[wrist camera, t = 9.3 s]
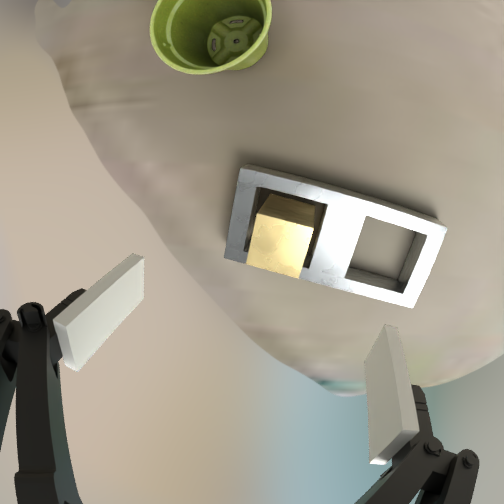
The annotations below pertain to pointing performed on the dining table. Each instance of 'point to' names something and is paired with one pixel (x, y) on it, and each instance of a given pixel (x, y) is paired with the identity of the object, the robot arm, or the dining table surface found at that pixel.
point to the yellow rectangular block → (281, 235)
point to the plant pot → (210, 33)
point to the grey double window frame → (339, 234)
